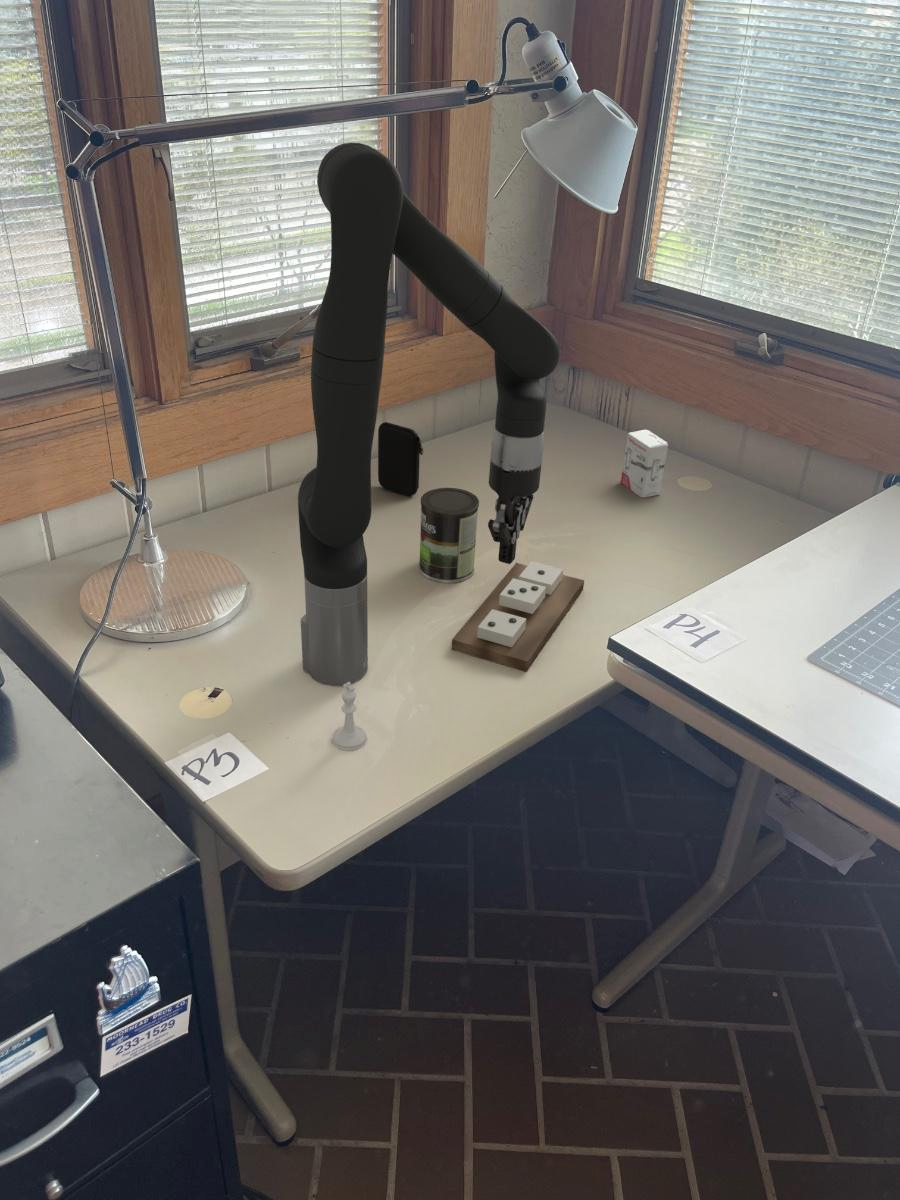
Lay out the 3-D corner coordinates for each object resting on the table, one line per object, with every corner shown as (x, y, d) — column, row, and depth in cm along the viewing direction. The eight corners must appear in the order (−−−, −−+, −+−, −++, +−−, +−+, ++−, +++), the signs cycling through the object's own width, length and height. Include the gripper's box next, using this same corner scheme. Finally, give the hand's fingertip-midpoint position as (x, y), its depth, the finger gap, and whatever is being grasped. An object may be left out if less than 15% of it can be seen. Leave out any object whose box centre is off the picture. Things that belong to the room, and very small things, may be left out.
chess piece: (349, 724, 147) (348, 668, 141) (374, 738, 144) (374, 682, 139) (324, 740, 143) (322, 683, 138) (349, 755, 141) (348, 698, 135)
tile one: (518, 586, 177) (519, 575, 175) (530, 570, 181) (531, 560, 180) (550, 594, 175) (551, 583, 173) (562, 579, 179) (563, 568, 178)
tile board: (451, 649, 163) (452, 639, 162) (515, 572, 185) (516, 562, 184) (526, 671, 159) (527, 661, 158) (583, 589, 181) (584, 580, 180)
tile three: (498, 604, 169) (499, 593, 168) (512, 588, 174) (513, 577, 173) (532, 614, 167) (533, 602, 166) (545, 597, 172) (546, 585, 170)
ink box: (619, 482, 220) (626, 431, 214) (637, 478, 222) (645, 428, 215) (641, 498, 213) (649, 446, 207) (660, 495, 215) (669, 443, 209)
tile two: (477, 637, 163) (477, 626, 161) (491, 619, 167) (492, 608, 166) (511, 647, 161) (512, 635, 159) (525, 628, 165) (526, 617, 164)
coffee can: (430, 587, 180) (432, 516, 172) (411, 559, 188) (412, 491, 180) (483, 578, 183) (488, 509, 175) (462, 552, 191) (466, 484, 183)
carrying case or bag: (425, 496, 210) (427, 430, 202) (417, 502, 208) (419, 435, 200) (383, 483, 215) (383, 418, 207) (374, 488, 212) (374, 422, 205)
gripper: (509, 437, 154) (500, 537, 163) (474, 468, 144) (466, 573, 153) (555, 447, 152) (543, 549, 161) (524, 480, 141) (513, 586, 150)
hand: (506, 560), depth 157 cm, fingers closed
